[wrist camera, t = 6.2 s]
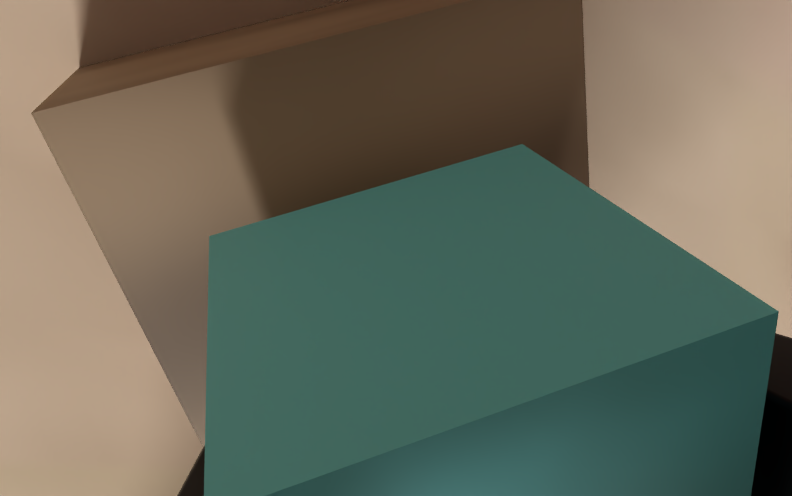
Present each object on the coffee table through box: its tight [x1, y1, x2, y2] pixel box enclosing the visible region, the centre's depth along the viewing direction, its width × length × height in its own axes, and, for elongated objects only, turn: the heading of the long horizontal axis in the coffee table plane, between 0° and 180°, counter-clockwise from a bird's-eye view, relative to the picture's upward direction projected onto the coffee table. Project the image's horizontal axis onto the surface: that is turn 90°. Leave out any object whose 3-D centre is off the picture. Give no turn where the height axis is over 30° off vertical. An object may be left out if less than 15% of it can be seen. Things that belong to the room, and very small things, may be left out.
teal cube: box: [204, 144, 778, 496], centre depth 8 cm, size 5×5×5 cm
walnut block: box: [31, 0, 589, 447], centre depth 13 cm, size 9×9×4 cm
